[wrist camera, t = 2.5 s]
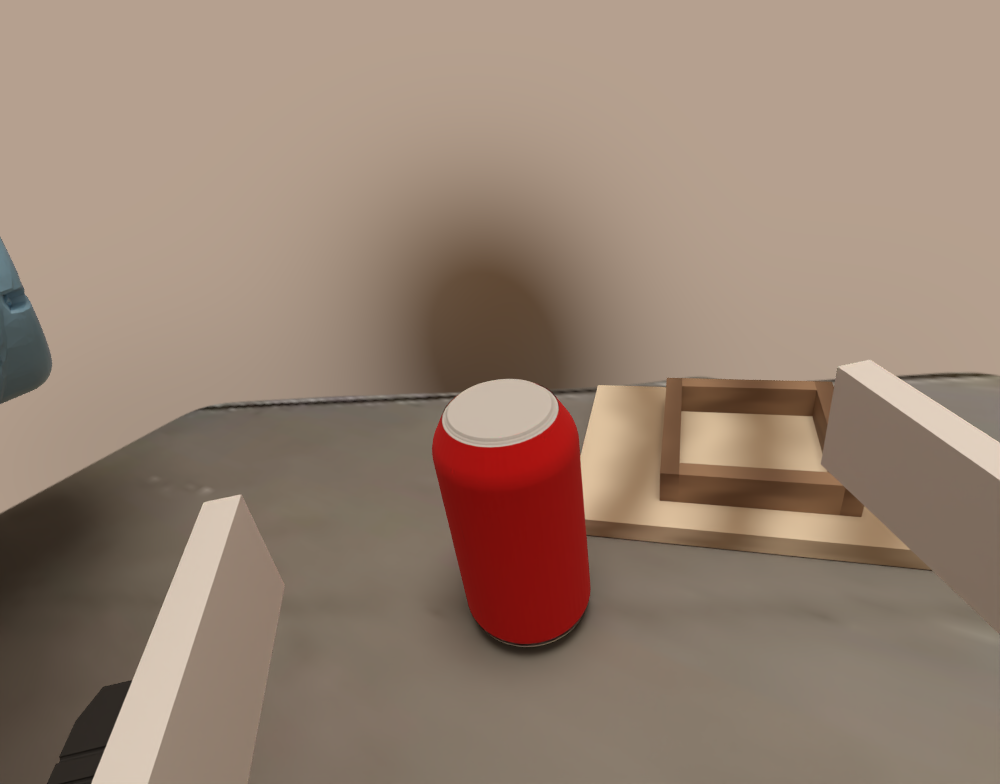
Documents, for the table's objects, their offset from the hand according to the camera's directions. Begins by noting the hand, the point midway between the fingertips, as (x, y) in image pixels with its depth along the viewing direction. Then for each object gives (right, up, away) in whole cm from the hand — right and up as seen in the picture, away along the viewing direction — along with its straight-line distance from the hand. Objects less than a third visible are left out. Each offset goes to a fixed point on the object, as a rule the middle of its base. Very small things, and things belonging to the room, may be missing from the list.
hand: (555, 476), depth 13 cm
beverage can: (0, -9, +17) cm, 19 cm away
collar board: (+14, -3, +23) cm, 27 cm away
